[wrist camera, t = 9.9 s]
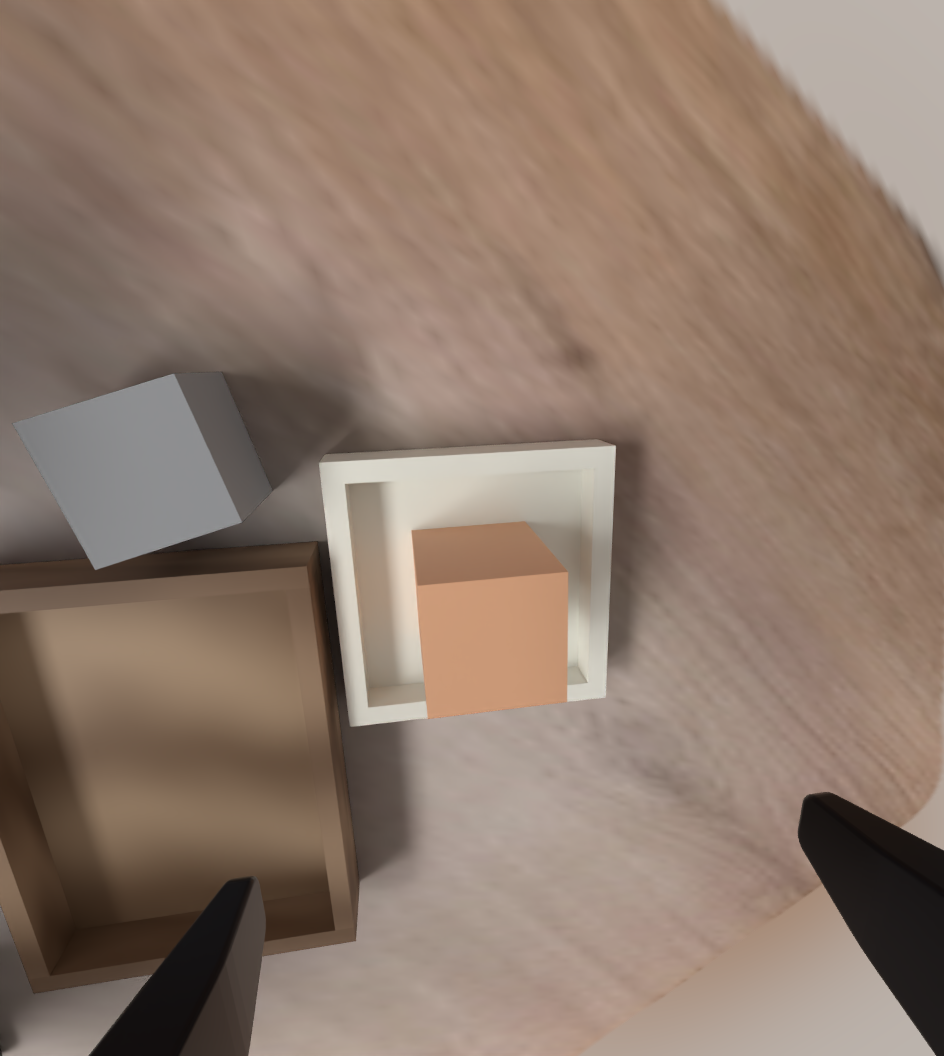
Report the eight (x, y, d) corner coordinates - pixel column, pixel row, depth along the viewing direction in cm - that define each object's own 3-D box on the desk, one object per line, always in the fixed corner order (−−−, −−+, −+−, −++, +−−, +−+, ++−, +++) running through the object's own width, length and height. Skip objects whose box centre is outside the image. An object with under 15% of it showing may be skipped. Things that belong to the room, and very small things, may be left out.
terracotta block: (524, 521, 19) (568, 571, 14) (526, 623, 20) (567, 701, 16) (411, 530, 19) (417, 585, 14) (419, 635, 20) (427, 718, 15)
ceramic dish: (589, 673, 22) (605, 697, 20) (353, 699, 21) (349, 727, 19) (597, 439, 19) (615, 445, 18) (325, 454, 18) (318, 462, 16)
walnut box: (359, 882, 23) (355, 940, 21) (72, 925, 22) (33, 993, 20) (317, 541, 19) (306, 566, 17) (-46, 568, 18) (-115, 599, 15)
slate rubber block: (273, 490, 18) (242, 522, 15) (157, 527, 18) (95, 570, 14) (222, 371, 17) (173, 373, 13) (97, 410, 17) (11, 423, 13)
